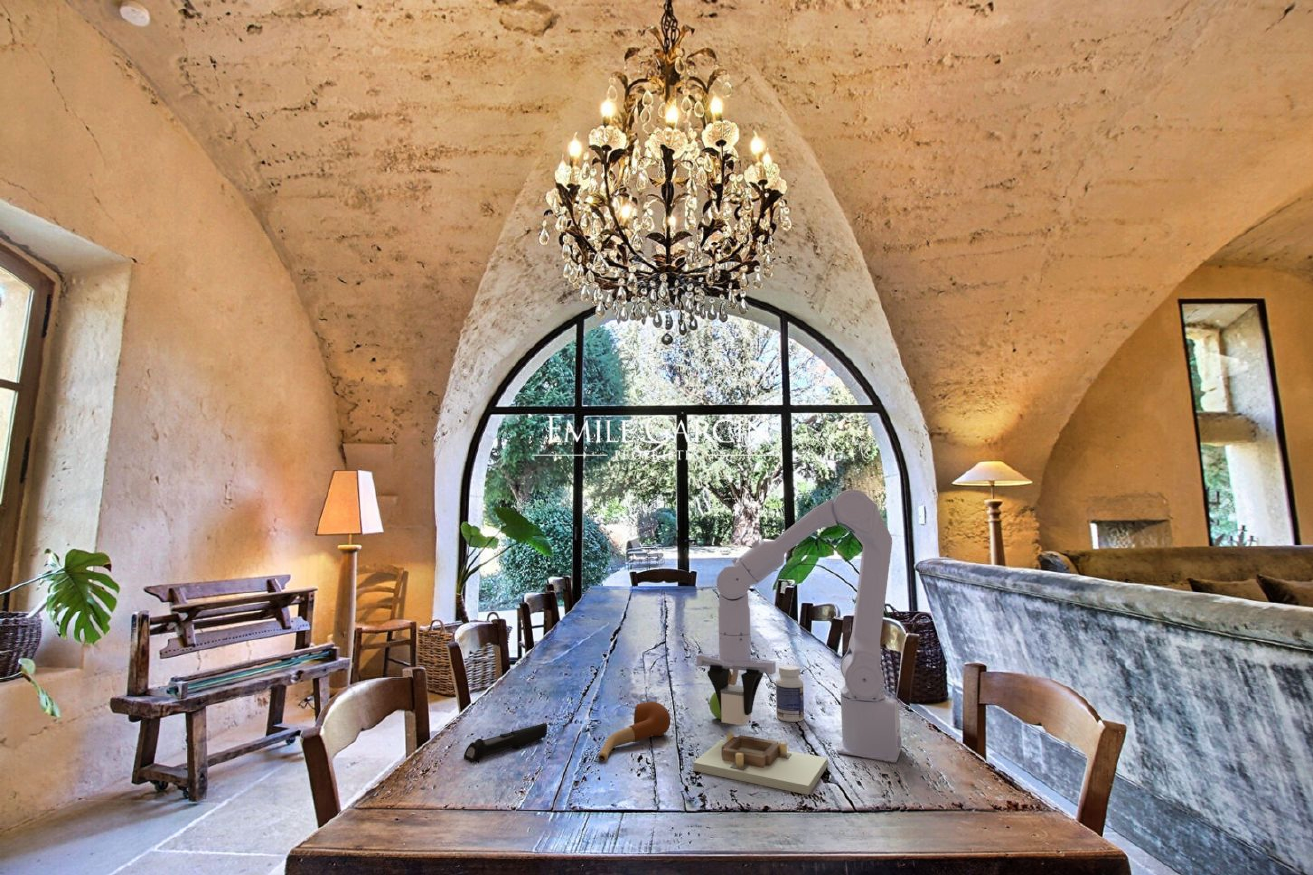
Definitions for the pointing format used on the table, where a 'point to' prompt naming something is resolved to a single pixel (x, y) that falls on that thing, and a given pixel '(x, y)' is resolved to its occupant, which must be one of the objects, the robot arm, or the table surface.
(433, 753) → the table surface
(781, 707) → the pill bottle
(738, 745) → the socket collar
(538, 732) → the electric trimmer
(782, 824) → the table surface
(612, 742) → the smoking pipe
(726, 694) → the plug block
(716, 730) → the table surface
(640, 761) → the table surface
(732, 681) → the snail figurine
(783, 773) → the board
